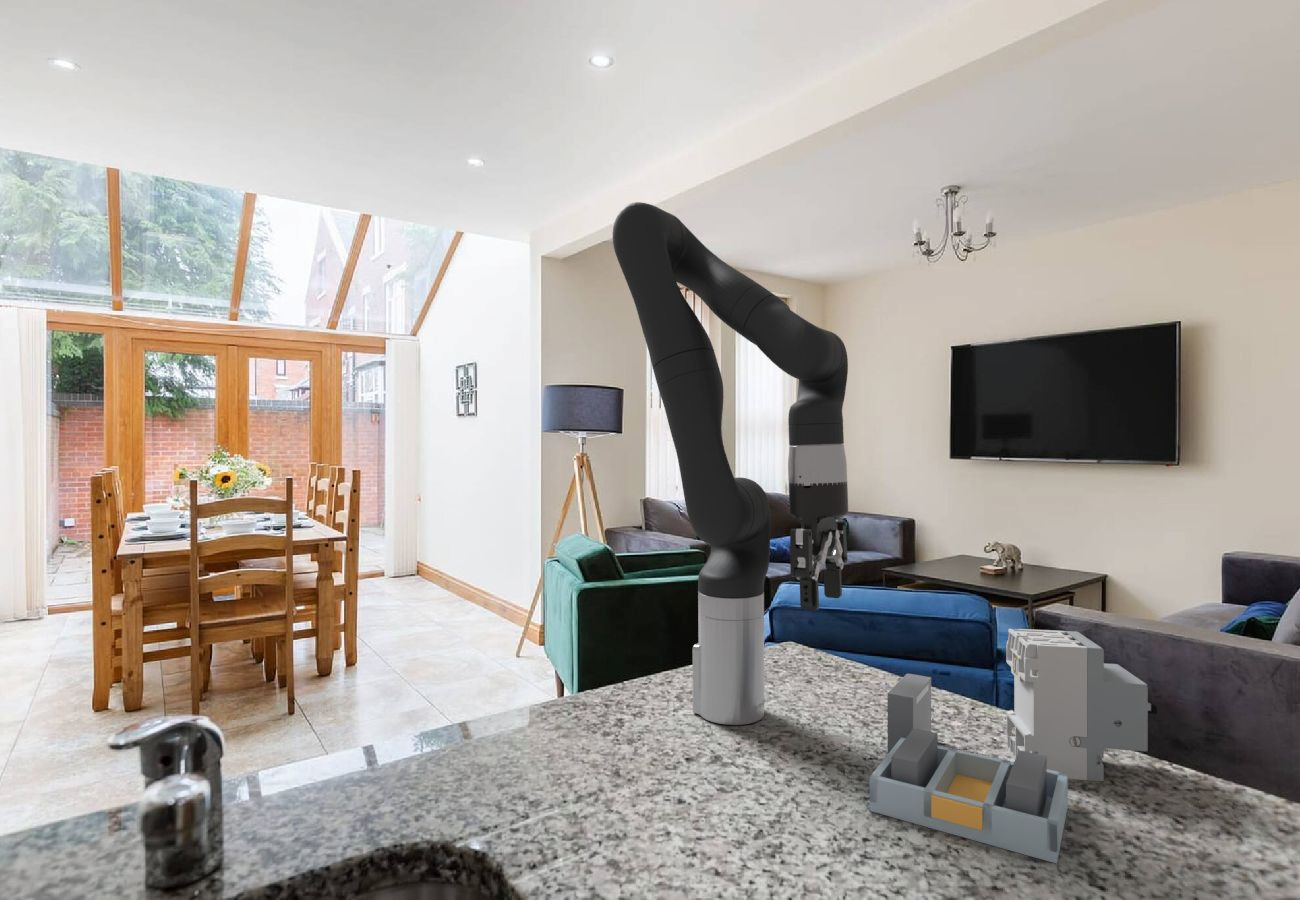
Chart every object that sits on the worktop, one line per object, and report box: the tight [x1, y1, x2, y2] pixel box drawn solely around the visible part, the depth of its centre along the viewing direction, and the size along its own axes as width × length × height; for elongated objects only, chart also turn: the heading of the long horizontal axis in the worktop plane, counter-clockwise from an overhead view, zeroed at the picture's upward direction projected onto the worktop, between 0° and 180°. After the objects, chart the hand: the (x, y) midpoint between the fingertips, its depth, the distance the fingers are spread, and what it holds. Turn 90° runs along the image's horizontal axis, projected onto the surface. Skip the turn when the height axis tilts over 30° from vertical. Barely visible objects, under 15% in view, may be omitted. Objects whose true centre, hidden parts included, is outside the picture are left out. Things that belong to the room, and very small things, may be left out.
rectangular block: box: [887, 673, 932, 754], centre depth 90 cm, size 3×9×8 cm, turn 146°
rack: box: [868, 728, 1069, 865], centre depth 75 cm, size 17×12×6 cm
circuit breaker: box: [1005, 628, 1158, 782], centre depth 85 cm, size 8×14×15 cm, turn 78°
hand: (821, 603), depth 94 cm, fingers open, 8 cm apart
